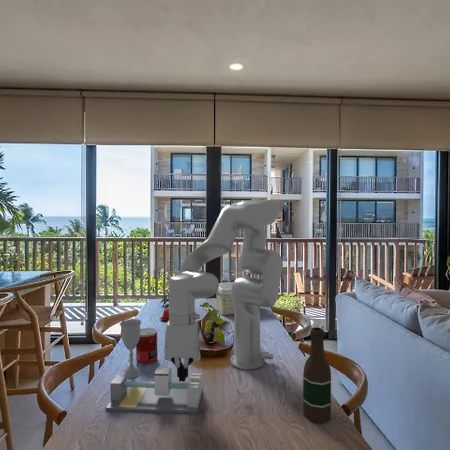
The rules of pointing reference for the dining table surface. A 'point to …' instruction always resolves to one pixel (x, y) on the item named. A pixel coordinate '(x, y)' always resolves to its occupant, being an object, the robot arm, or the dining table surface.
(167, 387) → the sleeve
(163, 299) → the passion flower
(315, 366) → the beer bottle
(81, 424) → the dining table surface
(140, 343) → the canned food
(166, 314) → the butter dish
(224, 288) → the storage basket
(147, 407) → the cable rig
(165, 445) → the dining table surface
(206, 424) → the dining table surface
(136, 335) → the chalice
